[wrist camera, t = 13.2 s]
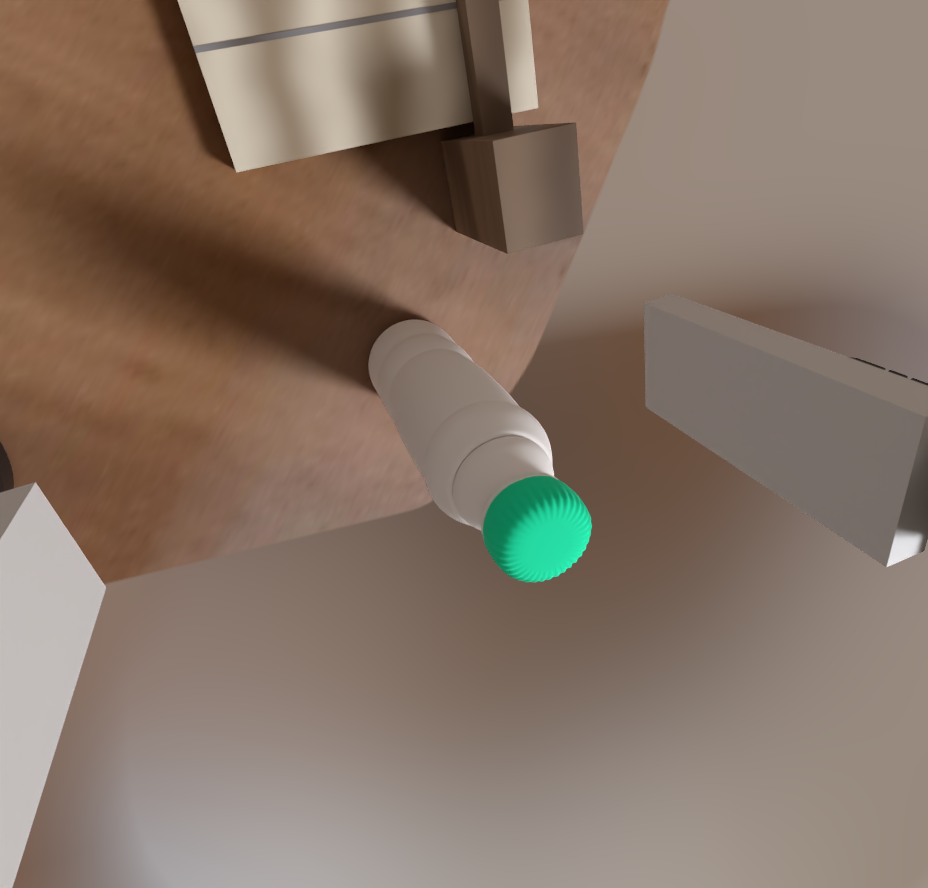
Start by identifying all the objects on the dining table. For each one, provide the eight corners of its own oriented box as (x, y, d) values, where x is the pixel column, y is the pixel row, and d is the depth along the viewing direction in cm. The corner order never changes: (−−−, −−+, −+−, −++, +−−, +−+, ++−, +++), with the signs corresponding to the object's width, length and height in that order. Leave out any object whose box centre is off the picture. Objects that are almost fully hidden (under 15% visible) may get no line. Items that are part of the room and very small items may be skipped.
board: (236, 170, 37) (236, 172, 35) (160, -52, 31) (155, -63, 29) (526, 109, 41) (538, 107, 39) (504, -99, 35) (517, -112, 33)
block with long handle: (456, 231, 43) (507, 253, 34) (415, -4, 36) (467, -48, 27) (518, 216, 44) (583, 233, 35) (490, -17, 37) (563, -63, 28)
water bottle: (354, 390, 46) (447, 604, 25) (383, 305, 43) (512, 459, 22) (435, 411, 49) (579, 616, 28) (466, 332, 46) (648, 490, 25)
